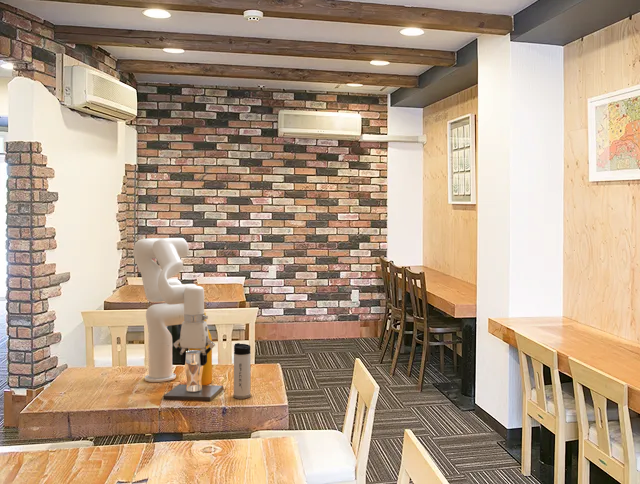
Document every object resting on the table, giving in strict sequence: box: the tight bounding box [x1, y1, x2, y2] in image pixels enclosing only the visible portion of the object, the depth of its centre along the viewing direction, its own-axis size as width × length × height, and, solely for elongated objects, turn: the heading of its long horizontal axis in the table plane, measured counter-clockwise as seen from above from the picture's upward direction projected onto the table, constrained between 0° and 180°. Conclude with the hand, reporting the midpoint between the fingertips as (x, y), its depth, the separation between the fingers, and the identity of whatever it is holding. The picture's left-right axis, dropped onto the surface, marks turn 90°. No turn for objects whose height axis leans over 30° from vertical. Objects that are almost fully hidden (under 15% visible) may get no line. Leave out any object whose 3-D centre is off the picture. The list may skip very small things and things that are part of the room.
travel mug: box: [233, 342, 252, 400], centre depth 243 cm, size 6×7×20 cm
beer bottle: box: [188, 311, 213, 385], centre depth 261 cm, size 9×9×29 cm
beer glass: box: [184, 350, 203, 393], centre depth 245 cm, size 7×7×15 cm
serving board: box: [162, 383, 224, 402], centre depth 246 cm, size 16×18×2 cm
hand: (194, 364), depth 245 cm, fingers closed on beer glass, 7 cm apart
